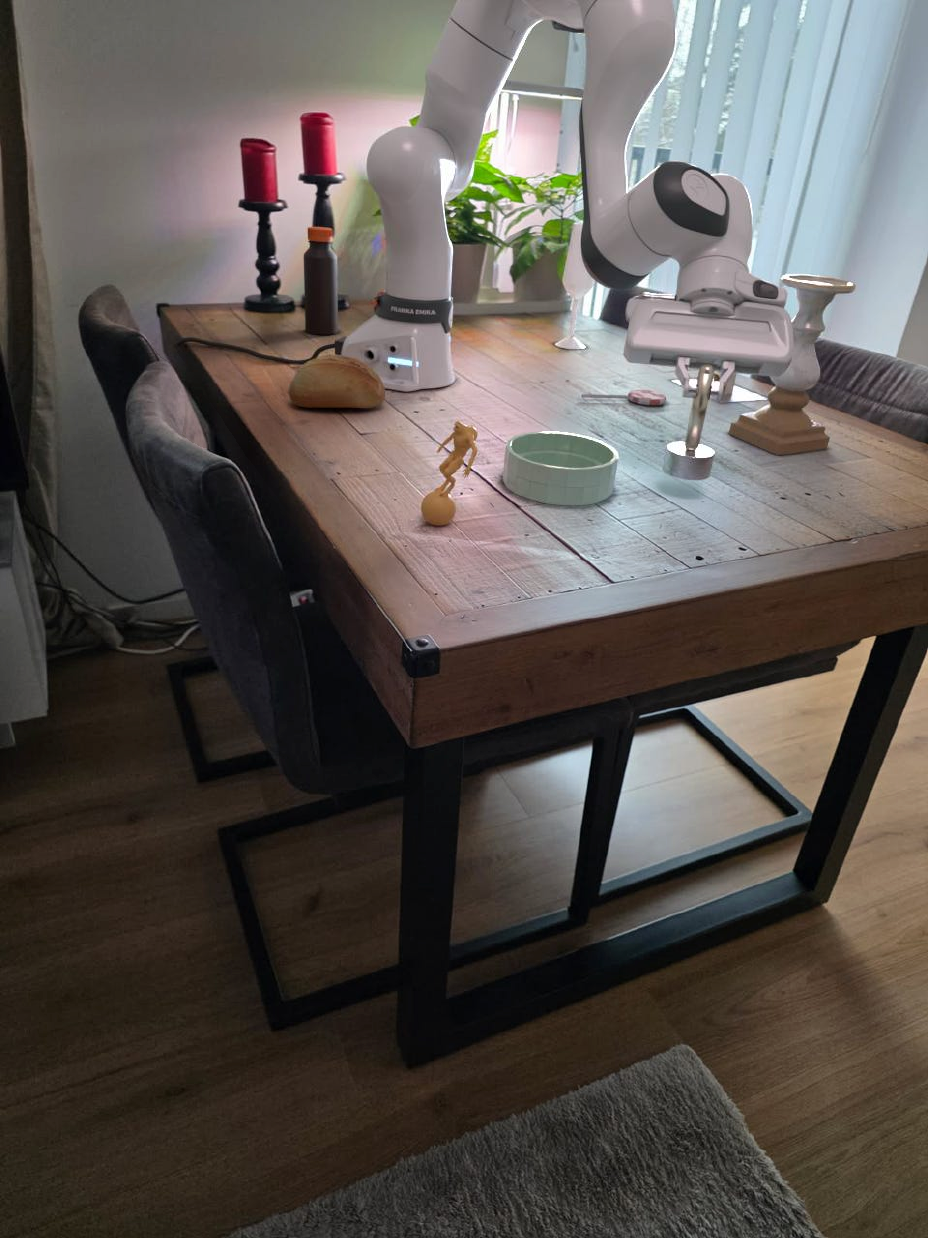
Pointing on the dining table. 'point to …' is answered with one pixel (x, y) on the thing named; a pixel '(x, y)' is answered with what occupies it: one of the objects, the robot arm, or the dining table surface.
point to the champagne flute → (575, 284)
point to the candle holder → (795, 376)
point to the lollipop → (636, 397)
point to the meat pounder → (693, 437)
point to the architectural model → (733, 391)
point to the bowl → (559, 468)
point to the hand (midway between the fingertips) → (702, 396)
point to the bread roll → (336, 384)
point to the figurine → (439, 503)
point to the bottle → (320, 283)
